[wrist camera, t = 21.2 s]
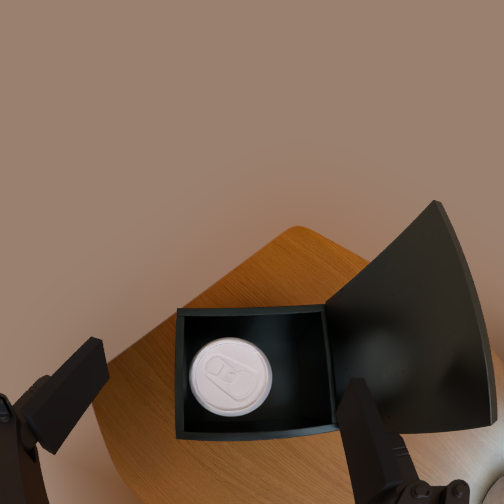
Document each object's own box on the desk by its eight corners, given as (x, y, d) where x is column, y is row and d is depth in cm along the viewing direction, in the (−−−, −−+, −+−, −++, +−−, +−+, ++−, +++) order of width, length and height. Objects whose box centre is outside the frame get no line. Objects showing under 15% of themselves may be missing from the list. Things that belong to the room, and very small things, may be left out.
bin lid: (491, 426, 6) (497, 420, 7) (433, 199, 13) (441, 201, 13) (339, 431, 19) (346, 429, 20) (325, 301, 26) (332, 301, 26)
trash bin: (198, 426, 31) (175, 439, 19) (197, 339, 37) (176, 308, 25) (307, 421, 32) (341, 429, 20) (300, 336, 38) (327, 303, 26)
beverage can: (242, 422, 31) (243, 433, 21) (191, 389, 33) (169, 384, 23) (275, 373, 34) (290, 362, 24) (224, 343, 36) (217, 318, 26)
